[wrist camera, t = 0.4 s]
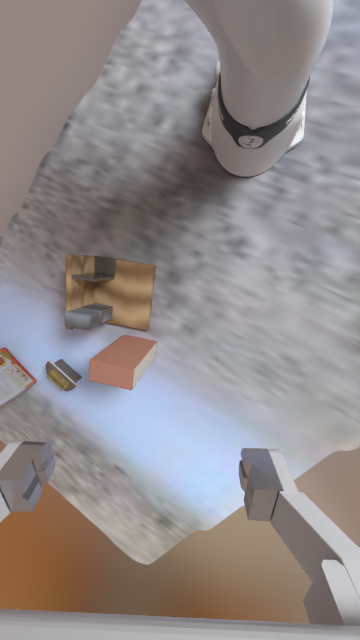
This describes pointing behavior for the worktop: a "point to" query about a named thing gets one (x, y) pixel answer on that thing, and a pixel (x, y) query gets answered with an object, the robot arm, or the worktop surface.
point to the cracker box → (12, 378)
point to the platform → (62, 374)
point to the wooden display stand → (108, 295)
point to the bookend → (99, 270)
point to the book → (123, 362)
